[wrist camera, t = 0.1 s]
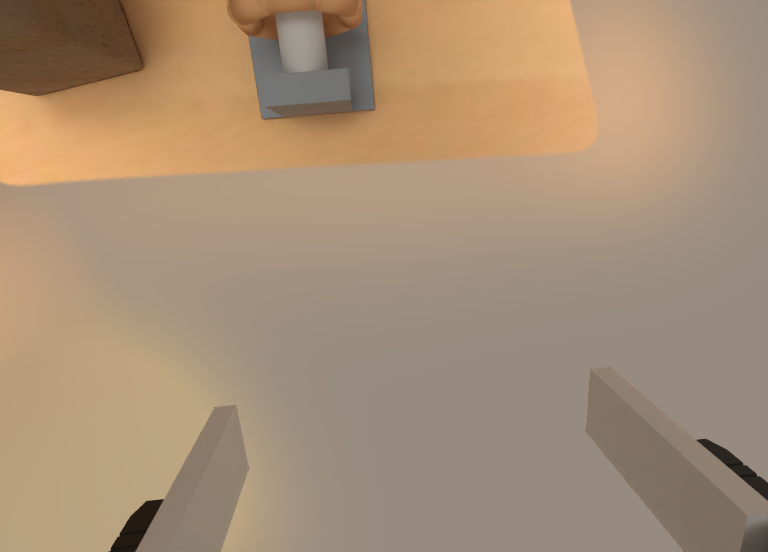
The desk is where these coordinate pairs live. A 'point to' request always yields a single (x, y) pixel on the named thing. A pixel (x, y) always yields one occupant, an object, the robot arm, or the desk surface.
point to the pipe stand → (312, 68)
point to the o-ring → (260, 3)
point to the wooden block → (63, 44)
